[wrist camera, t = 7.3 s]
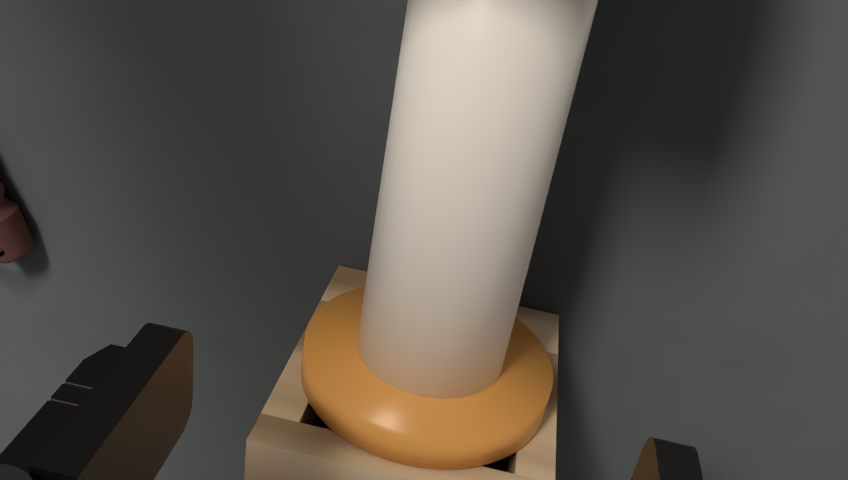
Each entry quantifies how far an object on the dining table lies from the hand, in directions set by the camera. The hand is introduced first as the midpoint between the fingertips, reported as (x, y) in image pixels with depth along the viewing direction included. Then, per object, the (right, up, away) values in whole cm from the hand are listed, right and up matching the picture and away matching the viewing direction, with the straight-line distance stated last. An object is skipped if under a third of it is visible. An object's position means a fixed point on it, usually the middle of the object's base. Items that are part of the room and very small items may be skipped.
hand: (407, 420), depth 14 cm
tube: (+2, +7, +8) cm, 11 cm away
